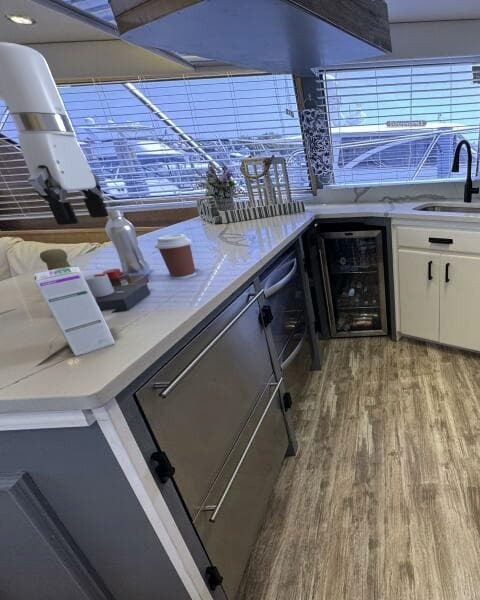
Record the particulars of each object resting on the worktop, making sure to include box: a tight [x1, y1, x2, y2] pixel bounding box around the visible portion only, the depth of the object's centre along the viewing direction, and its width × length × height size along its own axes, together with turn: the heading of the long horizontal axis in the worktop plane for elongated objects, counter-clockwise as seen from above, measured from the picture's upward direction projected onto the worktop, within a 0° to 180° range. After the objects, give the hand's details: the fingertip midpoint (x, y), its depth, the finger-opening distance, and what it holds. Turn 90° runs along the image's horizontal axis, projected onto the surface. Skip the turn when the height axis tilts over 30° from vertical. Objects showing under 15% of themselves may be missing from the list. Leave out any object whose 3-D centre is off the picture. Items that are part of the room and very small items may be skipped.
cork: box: [39, 248, 72, 271], centre depth 90 cm, size 6×6×11 cm
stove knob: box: [83, 272, 114, 297], centre depth 76 cm, size 4×4×5 cm
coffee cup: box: [154, 233, 197, 280], centre depth 95 cm, size 9×9×12 cm
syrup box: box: [33, 265, 115, 357], centre depth 57 cm, size 6×6×14 cm
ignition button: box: [102, 268, 122, 278], centre depth 87 cm, size 4×4×2 cm
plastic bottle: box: [105, 208, 151, 276], centre depth 95 cm, size 6×7×20 cm
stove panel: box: [94, 282, 151, 313], centre depth 77 cm, size 14×11×3 cm
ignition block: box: [109, 271, 149, 287], centre depth 88 cm, size 11×9×4 cm
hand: (85, 220), depth 67 cm, fingers open, 9 cm apart
